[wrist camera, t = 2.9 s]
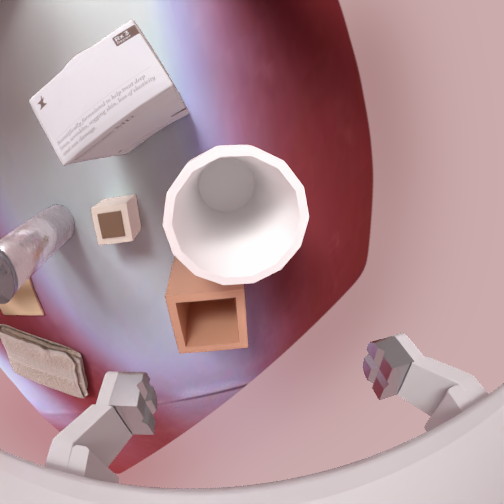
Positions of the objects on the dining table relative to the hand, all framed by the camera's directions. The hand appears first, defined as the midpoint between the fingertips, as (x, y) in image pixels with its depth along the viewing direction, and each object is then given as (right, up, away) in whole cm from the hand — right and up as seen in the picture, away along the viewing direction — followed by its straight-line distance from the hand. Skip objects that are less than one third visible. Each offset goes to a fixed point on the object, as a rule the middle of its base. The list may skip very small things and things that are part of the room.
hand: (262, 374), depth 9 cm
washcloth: (-37, -14, +27) cm, 48 cm away
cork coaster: (-36, -1, +21) cm, 42 cm away
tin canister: (-24, +8, +19) cm, 31 cm away
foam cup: (-3, +12, +20) cm, 24 cm away
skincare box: (-11, +19, +16) cm, 27 cm away
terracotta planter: (-6, +1, +24) cm, 25 cm away
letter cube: (-15, +9, +20) cm, 26 cm away
